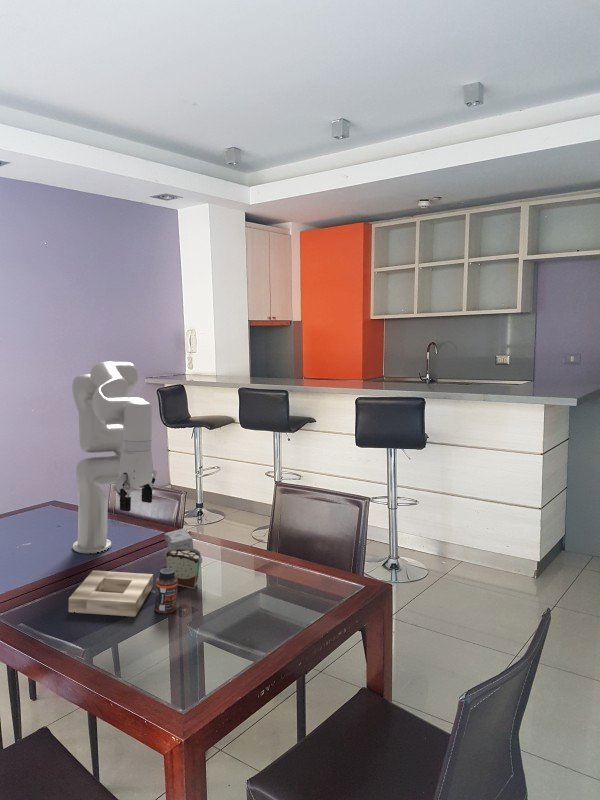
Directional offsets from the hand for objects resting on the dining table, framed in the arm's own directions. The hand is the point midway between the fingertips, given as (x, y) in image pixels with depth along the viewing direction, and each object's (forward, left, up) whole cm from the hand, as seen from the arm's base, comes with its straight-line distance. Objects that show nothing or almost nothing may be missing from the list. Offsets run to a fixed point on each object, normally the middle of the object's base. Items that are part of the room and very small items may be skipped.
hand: (136, 506), depth 164 cm
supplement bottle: (+4, +10, -28) cm, 30 cm away
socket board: (0, -6, -28) cm, 28 cm away
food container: (-14, +12, -28) cm, 33 cm away
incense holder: (-27, +7, -28) cm, 39 cm away
